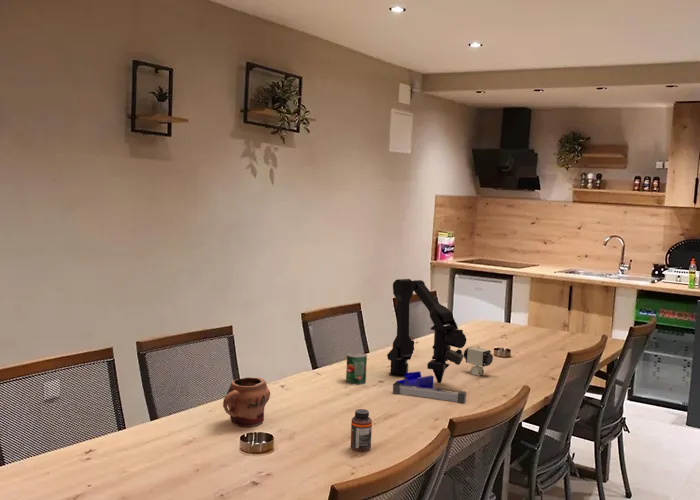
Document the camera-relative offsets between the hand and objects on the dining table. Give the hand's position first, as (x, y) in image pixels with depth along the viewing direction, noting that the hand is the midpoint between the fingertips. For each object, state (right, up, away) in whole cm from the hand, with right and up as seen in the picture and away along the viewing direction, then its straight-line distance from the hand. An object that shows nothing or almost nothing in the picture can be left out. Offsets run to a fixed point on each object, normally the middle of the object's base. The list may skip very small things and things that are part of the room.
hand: (439, 382), depth 268 cm
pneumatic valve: (+19, -1, +24) cm, 31 cm away
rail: (-5, -3, -11) cm, 13 cm away
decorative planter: (-68, -4, -49) cm, 83 cm away
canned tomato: (-32, -1, +6) cm, 33 cm away
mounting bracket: (-8, -3, -1) cm, 9 cm away
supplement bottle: (-31, -7, -66) cm, 73 cm away
